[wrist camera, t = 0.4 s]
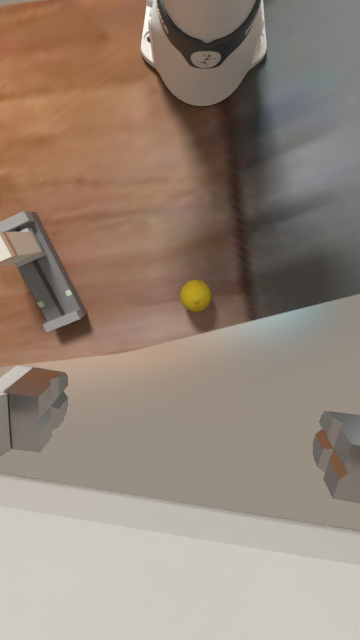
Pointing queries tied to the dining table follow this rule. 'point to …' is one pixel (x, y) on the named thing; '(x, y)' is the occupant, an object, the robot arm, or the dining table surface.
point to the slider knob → (19, 248)
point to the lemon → (195, 295)
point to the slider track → (47, 276)
